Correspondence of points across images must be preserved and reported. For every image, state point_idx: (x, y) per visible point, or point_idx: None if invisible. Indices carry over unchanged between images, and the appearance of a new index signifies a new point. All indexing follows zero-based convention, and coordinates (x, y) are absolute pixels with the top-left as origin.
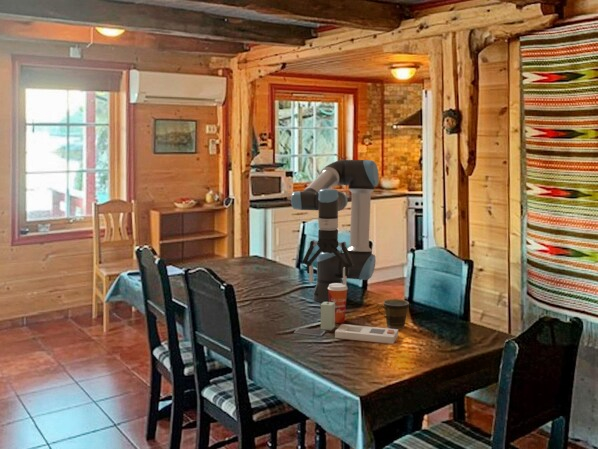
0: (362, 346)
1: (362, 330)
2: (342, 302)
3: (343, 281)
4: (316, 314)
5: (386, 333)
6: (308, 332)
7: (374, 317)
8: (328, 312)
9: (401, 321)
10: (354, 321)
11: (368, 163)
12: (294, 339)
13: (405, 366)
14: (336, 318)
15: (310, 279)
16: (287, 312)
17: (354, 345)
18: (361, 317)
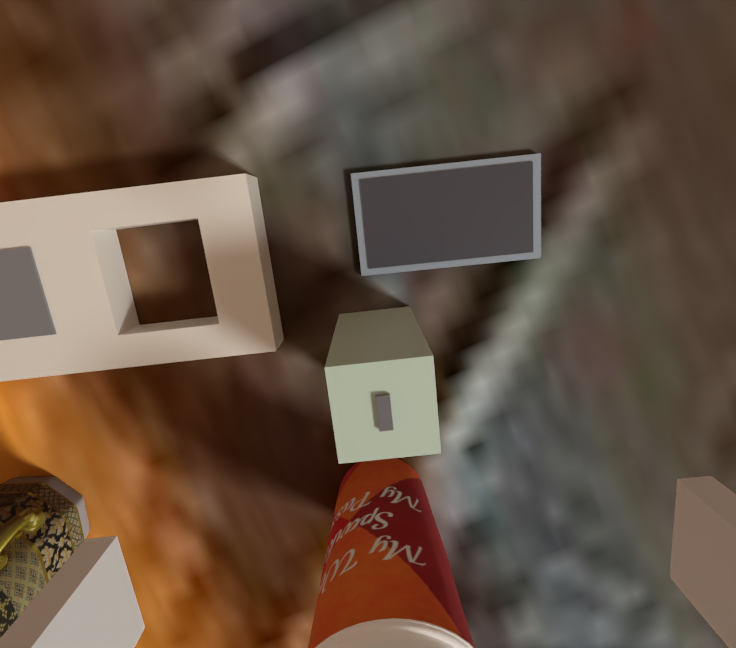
0: (26, 84)
1: (92, 273)
2: (329, 562)
3: (69, 585)
4: (537, 552)
5: None
6: (445, 183)
7: (222, 618)
8: (357, 342)
9: None
10: (289, 518)
11: None
12: (485, 24)
13: None
14: (370, 470)
15: (729, 514)
16: None
17: (79, 81)
18: (285, 594)
